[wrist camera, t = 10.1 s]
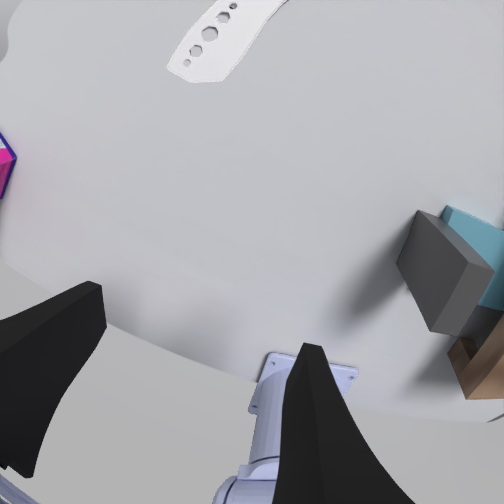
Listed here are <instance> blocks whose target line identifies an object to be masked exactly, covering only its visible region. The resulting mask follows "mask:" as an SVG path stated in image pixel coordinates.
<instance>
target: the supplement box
mask: <svg viewBox="0 0 504 504" xmlns="http://www.w3.org/2000/svg"><path fill="white" fill-rule="evenodd" d="M16 159H17V156H16V155H15V153H14V152H13V150H12V149H11V148H10V146H9V145H8V143H7V142H6V140H5V139H4V137H3V136H2V134H1V133H0V200H1V199H2V197H3V194H4V191H5V188H6V185H7V182H8V179H9V176H10V173H11V171H12V168H13V166H14V163H15V161H16Z"/></svg>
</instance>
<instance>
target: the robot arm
mask: <svg viewBox="0 0 504 504" xmlns="http://www.w3.org/2000/svg"><path fill="white" fill-rule="evenodd" d="M106 328H107V325H106V318H105V311H104V303H103V294H102V285H99V284H96V283H94V282H91V281H86V282H84V283H81V284H79V285H77V286H75V287H73V288H71V289H69V290H66V291H64V292H62V293H60V294H58V295H56V296H54V297H52V298H50V299H48V300H46V301H44V302H42V303H40V304H38V305H36V306H33V307H31V308H29V309H27V310H24V311H22V312H20V313H18V314H16V315H13V316H11V317H8V318H6V319H3V320H0V467H1V468H3V469H4V470H6V468H7V466H10V467H11V468H12V469H13V470H15V471H16V472H18V473H19V474H20V475H22V476H23V477H24V478H31V477H33V474H34V469H35V465H36V461H37V457H38V454H39V451H40V448H41V445H42V442H43V439H44V436H45V433H46V431H47V428H48V426H49V423H50V421H51V419H52V417H53V414H54V412H55V410H56V408H57V406H58V404H59V402H60V400H61V398H62V397H63V395H64V393H65V392H66V390H67V388H68V387H69V386H70V384H71V383H72V381H73V380H74V378H75V377H76V375H77V374H78V373H79V371H80V370H81V368H82V367H83V366H84V364H85V363H86V361H87V360H88V358H89V357H90V356H91V354H92V353H93V351H94V350H95V348H96V347H97V345H98V343H99V341H100V339H101V337H102V335H103V333H104V331H105V330H106ZM271 361H272V362H271ZM358 374H359V373H358V369H357V368H352V367H346V366H340V365H334V364H329V363H328V361H327V358H326V356H325V353H324V350H323V348H322V346H318V345H314V344H309V343H303V345H302V347H301V349H300V352H299V354H298V356H297V357H293V356H288V355H284V354H279V353H270V354H269V355H268V357H267V360H266V363H265V366H264V368H263V371H262V374H261V376H260V379H259V382H258V384H257V387H256V390H255V392H254V395H253V397H252V400H251V403H250V405H249V408H248V412H249V413H251V414H256V415H257V419H256V425H255V430H254V436H253V442H252V447H251V452H250V458H249V464H248V465H240V467H239V471H238V476H231V477H229V478H228V479H226V480H225V482H224V483H223V484H222V485H221V486H220V487H219V489H218V490H217V492H216V494H215V496H214V499H213V502H212V504H415V503H414V502H413V501H412V500H411V499H410V498H409V497H408V496H407V495H406V494H405V493H404V492H403V490H402V489H401V488H400V487H399V486H398V485H397V484H396V483H395V481H394V480H393V479H392V478H391V476H390V475H389V474H388V472H387V471H386V470H385V469H384V467H383V466H382V465H381V464H380V462H379V461H378V459H377V458H376V456H375V455H374V454H373V452H372V451H371V449H370V448H369V446H368V444H367V443H366V441H365V439H364V438H363V436H362V434H361V433H360V431H359V429H358V427H357V426H356V424H355V422H354V420H353V418H352V416H351V414H350V412H349V410H348V408H347V406H346V404H345V401H344V399H343V396H344V394H345V393H346V392H347V390H348V389H349V387H350V386H351V385H352V383H353V382H354V380H355V379H356V377H357V376H358ZM350 376H351V377H350ZM0 494H1V495H2V496H3V497H4V498H6V499H7V500H8V501H9V502H11V503H12V504H39V503H38V502H36V501H35V500H33V499H32V498H30V497H29V496H28V495H26V494H25V493H24V492H22V491H21V490H20V489H18V488H17V487H15V486H14V485H13V484H12V483H11V482H9V481H8V480H7V479H6V478H4V477H3V476H2V475H1V474H0ZM0 504H8V503H7V502H5V501H4V500H2V499H1V498H0Z"/></svg>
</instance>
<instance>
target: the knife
mask: <svg viewBox="0 0 504 504" xmlns="http://www.w3.org/2000/svg"><path fill="white" fill-rule="evenodd" d="M286 1H287V0H218V1H217V2H215V3H214V4H213V5H212V6H211V7H210V8H209V9H208V10H207V11H206V12H205V13H204V14H203V15H202V16H201V18H200V19H199V20H198V21H197V22H196V23H195V24H194V25H193V26H192V27H191V28H190V30H189V31H188V32H187V34H186V35H185V37H184V38H183V39H182V41H181V42H180V44H179V45H178V47H177V48H176V50H175V52H174V54H173V56H172V57H171V59H170V61H169V63H168V65H167V67H166V69H168V70H169V71H171V72H173V73H174V74H176V75H178V76H179V77H181V78H183V79H184V80H186V81H188V82H189V83H200V82H221V81H223V80H224V79H225V78H226V76H227V75H228V74H229V73H230V72H231V71H232V69H233V68H234V67H235V66H236V65H237V64H238V62H239V61H240V60H241V59H242V58H243V56H244V55H245V53H246V52H247V50H248V49H249V48H250V46H251V45H252V43H253V42H254V40H255V39H256V37H257V36H258V34H259V33H260V31H261V30H262V28H263V27H264V25H265V24H266V22H267V21H268V20H269V19H270V18H271V16H272V15H273V14H274V13H275V12H276V11H277V10H278V8H279V7H280V6H281V5H282V4H283V3H284V2H286ZM232 4H237V7H236V9H234V8H232V7H230V6H231V5H232ZM222 12H226V13H229V15H230V19H229V20H228V22H227V23H219V22H218V20H217V17H218V16H219V15H220V14H221V13H222ZM208 27H216V29H217V30H218V36H217V38H216V39H215V40H213V41H212V42H205V41H204V40H203V39H202V37H201V36H202V32H203V30H205V29H206V28H208ZM195 45H198V46H201V47H202V50H203V52H202V53H201V55H200V56H199V57H193V56H191V51H190V50H191V49H192V48H193V47H194V46H195ZM186 59H189V60H190V62H191V64H190V65H189V67H185V66H184V65H183V62H184V61H185V60H186Z"/></svg>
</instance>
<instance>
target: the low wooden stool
mask: <svg viewBox="0 0 504 504" xmlns="http://www.w3.org/2000/svg"><path fill="white" fill-rule="evenodd" d="M448 356H449V358H450V361H451V363H452V366H453V368H454V370H455V373H456V375H457V378H458V380H459V383H460V385H461V388H462V391H463V393H464V396H465V399H466V400H476V399H502V398H504V314H503V315H502V317H501V318H500V320H499V321H498V323H497V325H496V326H495V328H494V329H493V331H492V332H491V334H490V335H489V337H488V338H487V339H486V341H485V342H484V344H483V345H482V346H481V348H480V349H479V350H478V348H477V346H476V344H475V342H474V340H472V339H466V338H460V337H459V338H458V340H457V341H456V342H455V344H454V345H453V347H452V348H451V349H450V351H449V352H448Z"/></svg>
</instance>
